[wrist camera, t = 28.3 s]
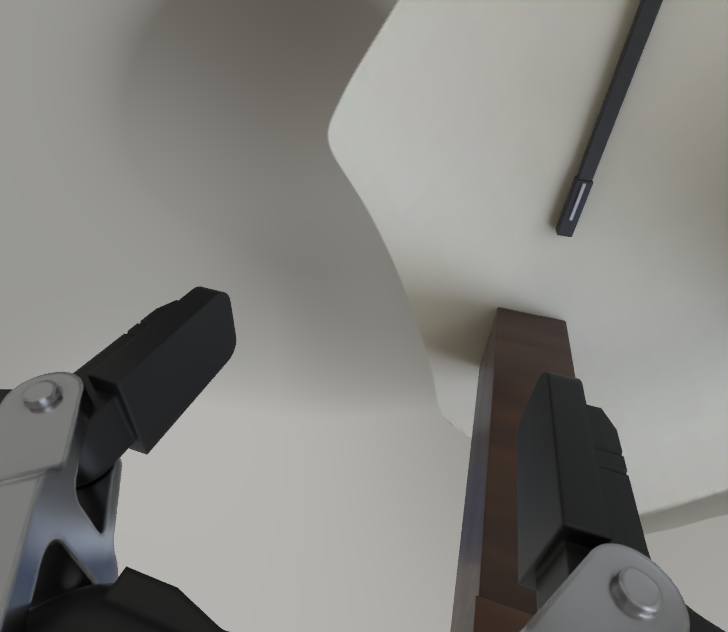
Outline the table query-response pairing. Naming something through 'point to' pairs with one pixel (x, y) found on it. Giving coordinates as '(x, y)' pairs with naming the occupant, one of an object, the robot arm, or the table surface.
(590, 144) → the pen
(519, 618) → the stand
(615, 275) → the table surface
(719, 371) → the table surface
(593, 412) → the robot arm
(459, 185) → the table surface
